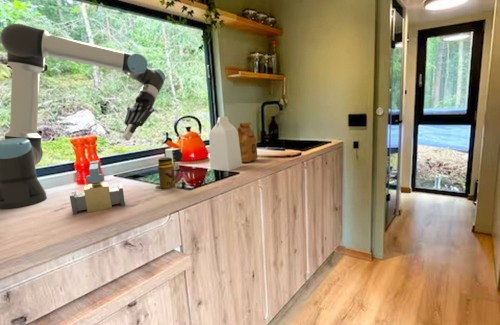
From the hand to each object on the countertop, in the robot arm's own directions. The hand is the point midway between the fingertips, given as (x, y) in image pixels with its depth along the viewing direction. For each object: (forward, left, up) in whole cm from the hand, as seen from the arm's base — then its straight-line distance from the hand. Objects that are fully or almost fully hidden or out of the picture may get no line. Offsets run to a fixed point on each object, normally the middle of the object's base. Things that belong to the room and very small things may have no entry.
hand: (125, 138), depth 119 cm
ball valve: (-12, -22, -20) cm, 32 cm away
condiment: (+12, -10, -21) cm, 26 cm away
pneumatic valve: (+24, +26, -21) cm, 41 cm away
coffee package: (+63, +19, -21) cm, 69 cm away
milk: (+47, +11, -21) cm, 52 cm away
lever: (-12, -16, -12) cm, 23 cm away
